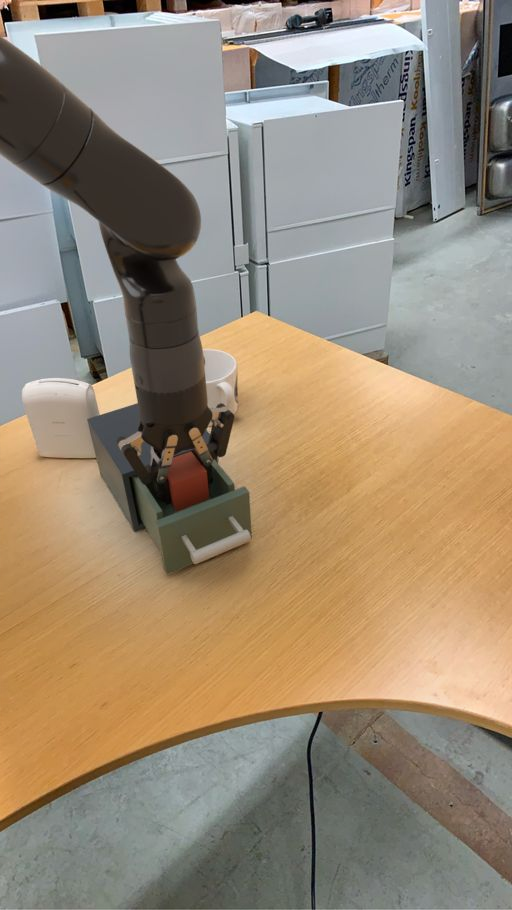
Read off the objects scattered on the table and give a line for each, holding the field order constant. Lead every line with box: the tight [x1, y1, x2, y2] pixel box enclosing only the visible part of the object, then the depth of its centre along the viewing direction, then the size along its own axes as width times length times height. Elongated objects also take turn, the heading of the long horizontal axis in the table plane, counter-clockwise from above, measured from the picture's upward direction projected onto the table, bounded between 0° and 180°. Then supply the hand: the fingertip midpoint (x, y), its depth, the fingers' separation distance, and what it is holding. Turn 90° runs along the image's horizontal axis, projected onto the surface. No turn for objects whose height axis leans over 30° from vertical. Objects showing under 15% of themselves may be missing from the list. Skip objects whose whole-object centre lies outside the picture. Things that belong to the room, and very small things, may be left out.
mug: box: [203, 348, 239, 427], centre depth 102 cm, size 13×10×8 cm
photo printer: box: [21, 377, 101, 459], centre depth 94 cm, size 10×4×12 cm, turn 85°
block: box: [167, 451, 209, 512], centre depth 78 cm, size 4×4×4 cm
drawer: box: [129, 454, 253, 575], centre depth 79 cm, size 17×11×8 cm
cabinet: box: [87, 402, 219, 533], centre depth 88 cm, size 14×13×10 cm
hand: (185, 492), depth 79 cm, fingers closed on block, 4 cm apart
